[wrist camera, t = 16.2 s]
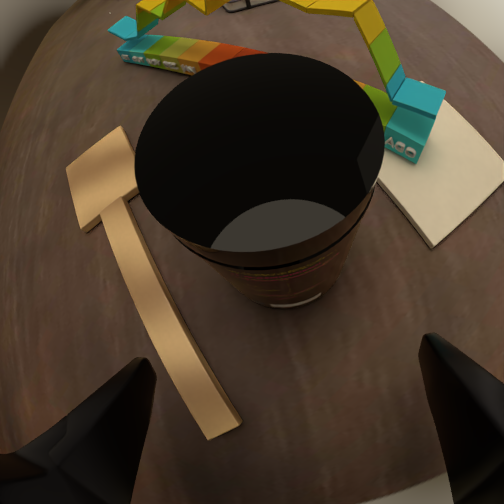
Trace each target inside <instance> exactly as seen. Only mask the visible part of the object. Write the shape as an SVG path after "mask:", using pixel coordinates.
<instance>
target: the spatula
mask: <svg viewBox="0 0 504 504" xmlns="http://www.w3.org/2000/svg"><path fill="white" fill-rule="evenodd" d="M134 162H135V152H134V150H133V148H132V146H131V144H130V141H129V139H128V137H127V135H126V133H125V131H124V129H123V128H122V127H121V126H119V127H117V128H116V129H115V130H113V131H112V132H111V133H109V134H108V135H106V136H105V137H104V138H102V139H101V140H100V141H99V142H97V143H96V144H95V145H93V146H92V147H91V148H90V149H88V150H87V151H86V152H85V153H83V154H82V155H81V156H80V157H78V158H77V159H76V160H75V161H74V162H72V163H71V164H70V165H69V166H68V167H67V168H66V172H67V177H68V181H69V186H70V190H71V194H72V198H73V202H74V206H75V210H76V214H77V218H78V222H79V225H80V229H81V230H83V231H85V232H88V231H89V230H91V229H92V228H93V227H94V226H96V225H97V224H98V223H99V222H101V221H102V222H103V225H104V228H105V230H106V233H107V236H108V239H109V242H110V244H111V247H112V250H113V252H114V255H115V258H116V260H117V263H118V265H119V268H120V270H121V273H122V275H123V278H124V280H125V282H126V285H127V287H128V290H129V292H130V294H131V297H132V299H133V301H134V303H135V306H136V308H137V310H138V312H139V315H140V317H141V319H142V321H143V323H144V325H145V327H146V330H147V332H148V334H149V336H150V338H151V340H152V342H153V344H154V346H155V348H156V350H157V352H158V354H159V356H160V358H161V360H162V362H163V364H164V366H165V368H166V369H167V371H168V373H169V375H170V377H171V379H172V381H173V382H174V384H175V386H176V388H177V390H178V391H179V393H180V395H181V397H182V398H183V400H184V402H185V404H186V405H187V407H188V409H189V410H190V412H191V414H192V415H193V417H194V419H195V420H196V422H197V424H198V425H199V427H200V429H201V430H202V432H203V433H204V435H205V436H206V438H207V440H211V439H213V438H215V437H217V436H219V435H221V434H223V433H225V432H228V431H230V430H232V429H234V428H236V427H238V426H239V425H240V424H241V423H242V422H243V420H242V419H241V417H240V416H239V414H238V413H237V411H236V409H235V408H234V406H233V405H232V403H231V401H230V400H229V398H228V397H227V395H226V393H225V392H224V390H223V388H222V387H221V385H220V383H219V382H218V380H217V378H216V377H215V375H214V373H213V372H212V370H211V368H210V367H209V365H208V363H207V361H206V360H205V358H204V356H203V354H202V353H201V351H200V349H199V347H198V345H197V344H196V342H195V340H194V338H193V336H192V335H191V333H190V331H189V329H188V327H187V325H186V323H185V322H184V320H183V318H182V316H181V314H180V312H179V310H178V308H177V306H176V304H175V302H174V300H173V299H172V297H171V295H170V293H169V291H168V289H167V287H166V285H165V283H164V281H163V278H162V276H161V274H160V272H159V270H158V268H157V266H156V264H155V262H154V260H153V258H152V256H151V253H150V251H149V249H148V247H147V245H146V243H145V240H144V238H143V236H142V234H141V231H140V229H139V227H138V225H137V222H136V220H135V218H134V215H133V213H132V211H131V208H130V206H129V204H128V202H127V201H129V200H130V199H131V198H133V197H134V196H135V195H137V194H138V193H139V191H138V188H137V184H136V179H135V170H134Z"/></svg>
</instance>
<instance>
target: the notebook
mask: <svg viewBox="0 0 504 504" xmlns="http://www.w3.org/2000/svg"><path fill="white" fill-rule="evenodd" d="M275 1H279V0H230V1H229V2H227V3H226V4H224V5H222V6H223V7H224V9H225V10H226V11H228V12H236V11H240V10H243V9H247V8H251V7H254V6H258V5H262V4H266V3H270V2H275Z"/></svg>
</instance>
